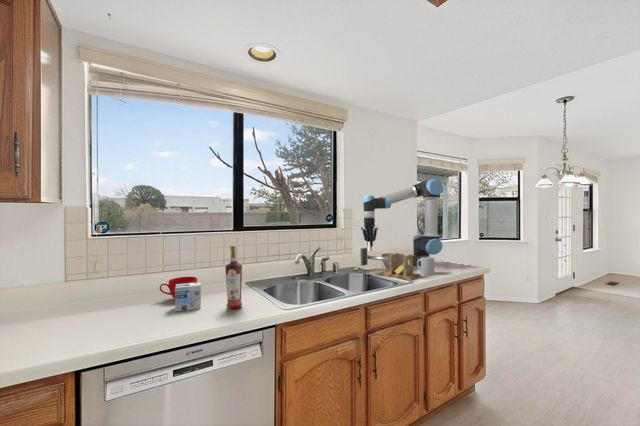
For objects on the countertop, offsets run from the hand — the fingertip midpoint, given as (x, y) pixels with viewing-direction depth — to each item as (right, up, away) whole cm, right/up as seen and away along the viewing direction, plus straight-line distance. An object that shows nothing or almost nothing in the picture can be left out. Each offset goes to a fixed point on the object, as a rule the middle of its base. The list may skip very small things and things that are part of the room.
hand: (370, 250), depth 210 cm
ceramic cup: (-105, -17, -62) cm, 123 cm away
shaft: (+5, -10, -5) cm, 12 cm away
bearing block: (+15, -14, -14) cm, 25 cm away
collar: (+16, -12, -15) cm, 25 cm away
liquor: (-74, -16, -75) cm, 106 cm away
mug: (+36, -14, -9) cm, 39 cm away
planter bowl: (+17, -14, +5) cm, 23 cm away
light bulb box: (-95, -17, -75) cm, 122 cm away
